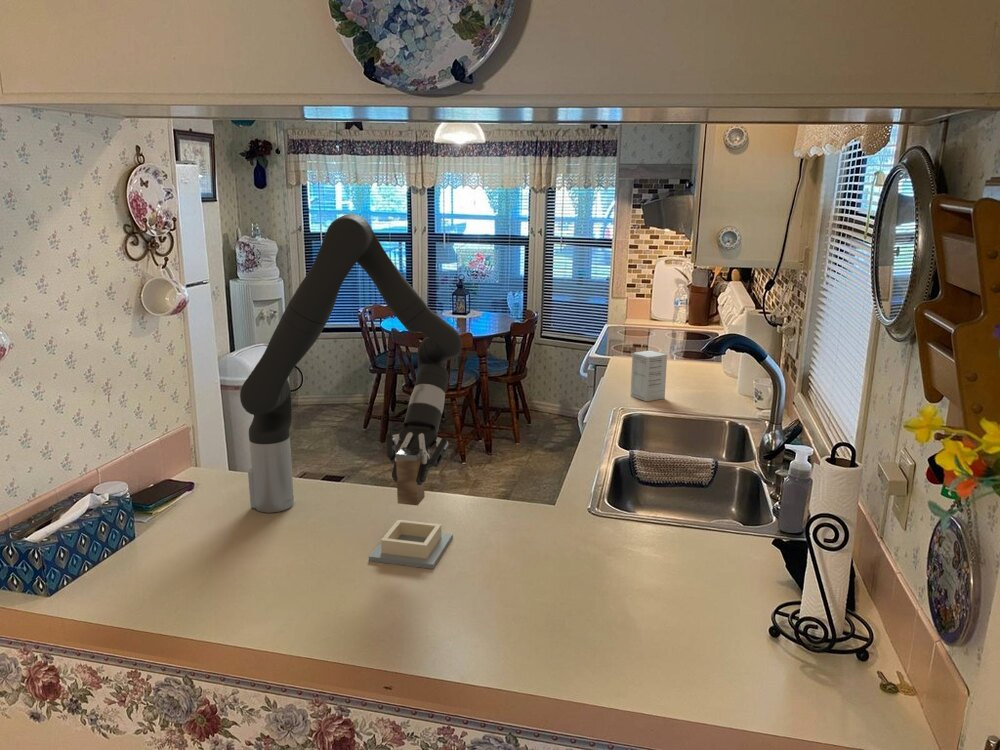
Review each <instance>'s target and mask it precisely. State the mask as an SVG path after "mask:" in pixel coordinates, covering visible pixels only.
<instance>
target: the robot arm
mask: <svg viewBox="0 0 1000 750" xmlns="http://www.w3.org/2000/svg"><path fill="white" fill-rule="evenodd" d="M322 239H323V240H322V243H321V245H320V247H319V249H318V252H317V255H316V257H315V260H314V262H313V264H312V266H311V267H310V270H308V273H307V274H306V275H305V277H304V278H303V280H302V281H301V283H299V285H298V287H297V288H296V290H295V292H294V294H293V296H292V297H291V299H290V300H289V302H288V304H287V306H286V307H285V310H284V311H283V313H282V315H281V317H280V319H279V321H278V323H277V326H276V327H275V330H274V332H273V334H272V335H271V338H270V339H269V342H268V344H267V347H266V348H265V349H264V352H263V354H262V355H261V358H260V359H259V361H258V362H257V363H256V365H255V367H254V368H253V369H252V371H251V372H250V374H249V375H248V376H247V378H246V380H244V382H243V384H242V386H241V388H240V392H239V398H240V399H239V401H240V404H241V406H242V408H243V410H245V412H247V413H248V414H250V415H253V418H252V422H251V423H250V426H249V428H248V440H249V442H248V443H249V453H250V465H251V466H250V467H251V468H250V469H249V470H248V471H247V476H248V488H249V502H250V508H251V509H255V510H256V511H258V512H261V513H267V514H268V513H269V514H270V513H278V512H283V511H286V510H288V509H290V508H292V506H293V505H294V504H295V500H294V499H295V497H294V496H295V495H294V484H293V483H294V482H293V480H294V479H293V464H292V452H291V437H290V436H291V435H290V434H291V433H290V429H291V425H292V419H293V418H292V417H293V416H292V413H293V412H292V390H291V386H290V382H289V381H288V379H289V376H290V375H291V373H292V372H293V370H294V369H295V367H296V366H297V365H298V364H299V362H300V361H302V359H303V357H305V355H306V354H307V353H308V352H309V351H310V349H311V348H312V347H313V346H314V345H315V343H316V342H317V340H318V339H319V337H320V336H321V334H322V331H324V329H325V326H326V324H327V322H328V321H329V319H330V317H331V314H332V312H333V310H334V308H335V305H336V303H337V299H338V295H339V292H340V289H341V286H342V285H343V283H344V281H345V280H346V278H347V277H348V275H349V274H350V272H351V270H352V269H353V267H354V266H355V264H358V265H359V266H360V267H361V268H362V270H364V271H365V272H366V274H367V275H368V277H369V278H370V279H371V281H372V282H373V283H374V285H375V287H376V289H377V291H378V292H379V294H380V296H381V298H382V299H383V301H384V302H385V304H386V305H387V307H388V309H389V310H390V311H391V312H392V313H393V315H394V316H395V317H396V319H397V320H398V321H399V322H400V323H401V325H402V326H403V327H404V329H406V330H407V331H408V332H409V333H411V334H416V333H417V334H418V333H421V334H423V335H425V338H423V339H422V341H421V342H420V345H419V347H418V351H417V371H418V372H417V376H416V380H415V383H414V387H413V390H412V393H411V395H410V398H409V402H408V406H407V410H406V414H405V418H404V421H403V426H402V429H401V430H400V431H399V433H396V434H392V433H390V432H388V433H387V434H386V454H387V455H386V456H387V459H388V460H389V461H390V463H391V464H393V468H392V472H391V477H392V479H393V481H394V482H395V483H397V468H396V453H397V451H396V446H397V445H398V444H399V441H401V445H400V447H399V449H398V451H400V450H401V449H402V448H403V447H405V448H406V447H413V448H420V449H423V450H422V458H421V463H422V464H421V465H420V467H419V471H418V475H417V478H416V482H417V483H418V485H422V482H424V483H425V482H426V479H427V475H428V472H429V469H430V468H433V467H434V468H437V467H438V466H439V465H440V464H441V462H442V459H443V457H444V456H445V454H446V453H447V450H448V449H449V448H450V447H449V446H450V443H449V441H448V439H447V438H445V437H442V438H441V437H439V436H438V435H439V434H438V433H439V430H440V429H439V427H440V424H441V419H442V416H443V412H444V406H445V400H446V399H445V397H446V392H447V388H448V384H449V380H450V379H449V378H450V377H449V371H448V370H447V368H446V367H444V363H445V362H447V361H449V360H451V359H452V358H455V357H457V356H458V355H459V354H460V353H461V351H462V349H463V342H462V338H461V336H460V334H459V333H458V331H457V330H456V329H455V327H453V326H452V325H451V324H450V323H448V322H447V321H446V320H445V319H444V318H442V317H440V316H439V315H438V314H436V313H435V312H434V311H433V310H431V309H430V308H429V306H428V305H427V304H426V302H425V301H424V300H423V299H422V297H421V296H420V295H419V294H418V292H417V291H416V290H415V289H414V288H413V286H412V285H411V284H410V283H409V282H408V280H407V279H406V277H404V275H403V274H402V273H401V271H400V270H399V269H398V267H396V265H395V263H394V262H393V261H392V260H391V258H390V256H389V255H388V254H387V252H386V251H385V249H384V247H383V246H382V244H381V242H380V241H379V239H378V236H376V234H375V232H374V230H373V228H372V226H371V225H370V223H369V222H368V221H367V219H366V218H365V217H363V216H360V215H357V214H352V213H348V214H344V215H342V216H340V217H338V218H335V219H334V220H333V221H331V223H329V226H328V227H327V229H326V231H325V234H324V238H322ZM433 446H436V448H435V450H434V451H433V454H432V455H431V458H430V449H432V447H433Z"/></svg>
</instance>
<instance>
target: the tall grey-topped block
mask: <svg viewBox="0 0 1000 750" xmlns="http://www.w3.org/2000/svg"><path fill="white" fill-rule="evenodd" d="M422 450H423V449H420V448H413V447H406V448H405V447H403V448H402V449H401V450H400V451H399V450H398V452H397V451H396V468H397V482H396V491H397V492H396V495H397V504H400V505H410V506H419V505H420V503H422V501H423V500H424V499H425V495H426V494H425V482H422V485H418V483H417V482H416V478H417V475H418V471H419V467H420V465H421V464H422V463H421V458H422Z"/></svg>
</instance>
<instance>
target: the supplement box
mask: <svg viewBox="0 0 1000 750" xmlns="http://www.w3.org/2000/svg"><path fill="white" fill-rule="evenodd" d="M631 354H632V355H631V356H632V357H631V359H632V360H631V361H632V362H631V376H630V377H631V378H630V397H633V398H636V399H638V400H640V401H641V400H642V401H644V402H651V401H657V400H663V399H664V400H665V399H666V382H667V381H666V379H667V363H668V354H665V353H663V352H662V353H661V352H658V351H655V350H644V351H636V352H632V353H631Z"/></svg>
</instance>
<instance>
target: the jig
mask: <svg viewBox="0 0 1000 750" xmlns="http://www.w3.org/2000/svg"><path fill="white" fill-rule="evenodd" d="M453 539H454V534H453V533H448V532H447V533H446V532H442V524H441V523H440V524H439V523H431V522H423V521H414V520H413V521H412V520H404V519H397V520H396V522H395V523H394V524H392V526H391V527H390V529H389V530H388V531H387V532H386V533H385V535H384V536H383V537H382V538H381V539H380V542H379V543H378V545H377V546H376V547H375V549H373V551H372V552H371V553H370V555H368V561H369V562H377V563H383V564H391V565H399V566H406V567H414V568H415V567H416V568H423V569H431V570H433V569H435V567H436V566H437V564H438V563H439V561H440V560H441V557H442V556H443V555H444V552H445V551H446V550H447V548H448V546H449V545H450V543H451V542H452V540H453Z"/></svg>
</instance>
